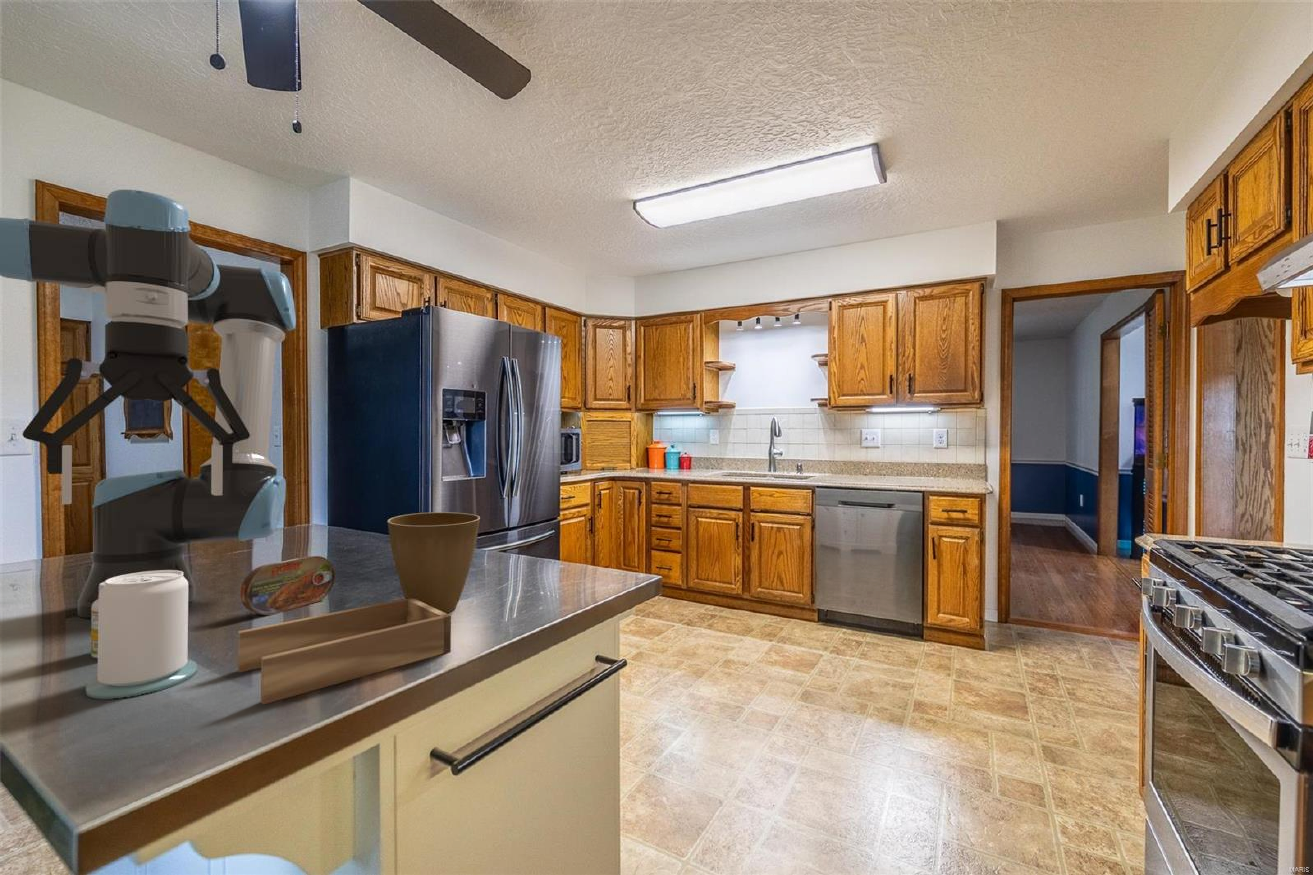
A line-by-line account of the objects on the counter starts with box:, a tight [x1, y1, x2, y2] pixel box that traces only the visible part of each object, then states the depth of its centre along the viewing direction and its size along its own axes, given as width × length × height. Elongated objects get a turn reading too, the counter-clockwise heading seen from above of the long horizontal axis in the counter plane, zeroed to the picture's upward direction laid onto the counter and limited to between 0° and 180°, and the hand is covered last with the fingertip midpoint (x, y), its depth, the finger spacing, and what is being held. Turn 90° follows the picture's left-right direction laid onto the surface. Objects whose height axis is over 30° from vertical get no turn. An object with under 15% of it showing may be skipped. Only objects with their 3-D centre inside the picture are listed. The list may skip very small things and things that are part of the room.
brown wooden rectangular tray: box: [237, 597, 452, 705], centre depth 75 cm, size 13×22×5 cm, turn 137°
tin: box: [240, 555, 336, 616], centre depth 98 cm, size 15×3×8 cm, turn 155°
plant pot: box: [386, 511, 481, 614], centre depth 98 cm, size 15×15×16 cm
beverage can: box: [97, 570, 189, 686], centre depth 69 cm, size 8×8×12 cm
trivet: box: [85, 659, 198, 700], centre depth 69 cm, size 10×10×1 cm
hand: (147, 498), depth 69 cm, fingers open, 13 cm apart
